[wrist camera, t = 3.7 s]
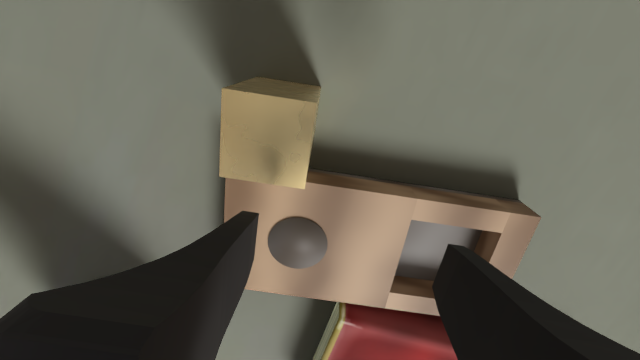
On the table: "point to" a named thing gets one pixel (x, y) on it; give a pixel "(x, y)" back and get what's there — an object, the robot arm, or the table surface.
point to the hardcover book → (383, 335)
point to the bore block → (372, 237)
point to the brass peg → (268, 131)
